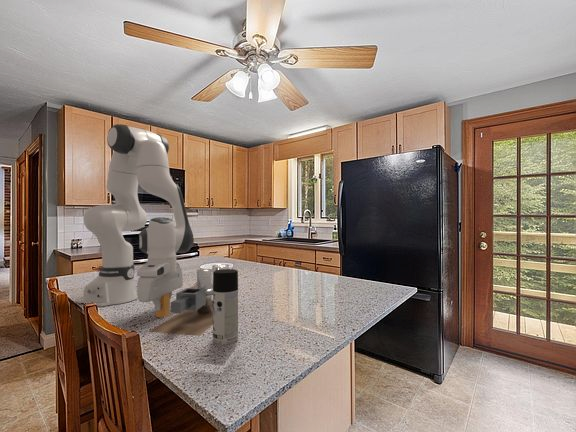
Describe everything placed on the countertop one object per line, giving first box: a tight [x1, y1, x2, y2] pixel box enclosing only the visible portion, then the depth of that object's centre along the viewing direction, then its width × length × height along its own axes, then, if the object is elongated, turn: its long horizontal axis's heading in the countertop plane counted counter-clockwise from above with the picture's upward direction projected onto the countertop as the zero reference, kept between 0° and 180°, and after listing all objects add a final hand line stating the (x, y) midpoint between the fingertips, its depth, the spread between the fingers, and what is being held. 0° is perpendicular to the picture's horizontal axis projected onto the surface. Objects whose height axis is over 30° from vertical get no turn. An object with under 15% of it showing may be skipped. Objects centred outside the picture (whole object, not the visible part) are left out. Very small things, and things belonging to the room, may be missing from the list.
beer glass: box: [211, 263, 230, 285], centre depth 117 cm, size 7×7×15 cm
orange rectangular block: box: [155, 293, 170, 318], centre depth 99 cm, size 3×3×11 cm
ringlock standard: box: [170, 268, 213, 314], centre depth 97 cm, size 11×24×14 cm, turn 170°
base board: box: [148, 304, 213, 337], centre depth 97 cm, size 16×26×2 cm, turn 170°
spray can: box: [212, 268, 239, 346], centre depth 80 cm, size 7×7×20 cm
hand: (162, 307), depth 99 cm, fingers closed on orange rectangular block, 3 cm apart
